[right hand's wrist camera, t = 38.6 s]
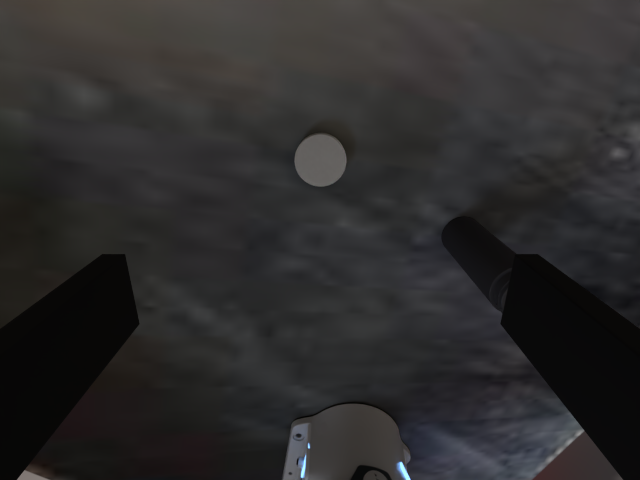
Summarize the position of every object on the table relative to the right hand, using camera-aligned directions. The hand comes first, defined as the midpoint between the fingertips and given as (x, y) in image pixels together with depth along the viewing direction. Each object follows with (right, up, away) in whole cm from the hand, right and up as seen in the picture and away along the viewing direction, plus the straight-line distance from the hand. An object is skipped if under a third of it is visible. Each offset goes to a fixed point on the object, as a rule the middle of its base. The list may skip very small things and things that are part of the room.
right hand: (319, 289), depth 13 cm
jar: (+17, +2, +31) cm, 35 cm away
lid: (0, +10, +27) cm, 29 cm away
